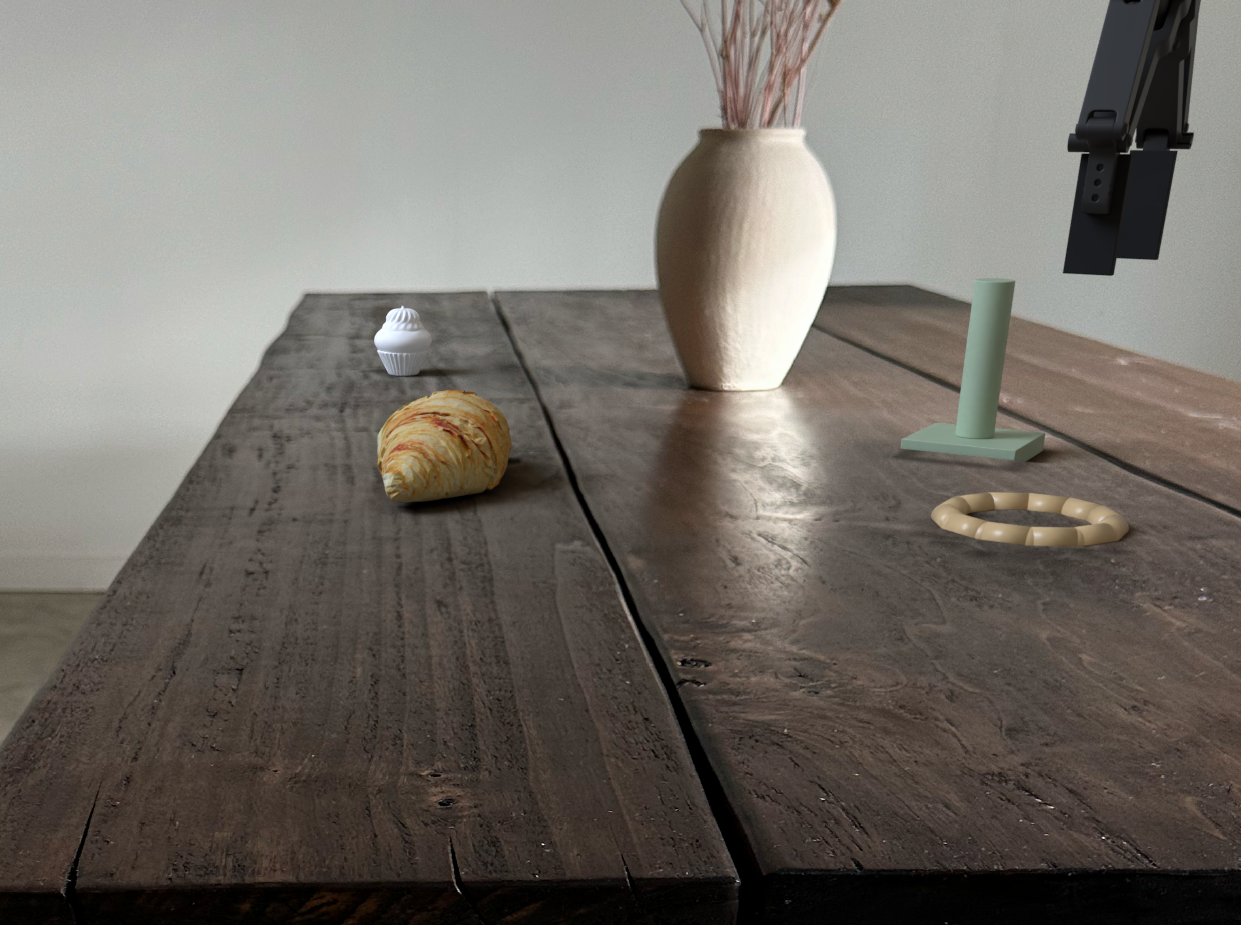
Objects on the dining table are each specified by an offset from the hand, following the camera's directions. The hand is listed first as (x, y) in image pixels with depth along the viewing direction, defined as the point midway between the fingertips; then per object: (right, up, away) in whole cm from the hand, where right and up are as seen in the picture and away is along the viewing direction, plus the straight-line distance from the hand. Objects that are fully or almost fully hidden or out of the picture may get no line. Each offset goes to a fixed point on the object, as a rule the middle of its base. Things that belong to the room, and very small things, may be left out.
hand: (1112, 266), depth 99 cm
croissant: (-41, -9, +21) cm, 47 cm away
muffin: (-45, +13, +73) cm, 86 cm away
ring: (-3, -15, +5) cm, 16 cm away
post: (+2, -5, +31) cm, 31 cm away
